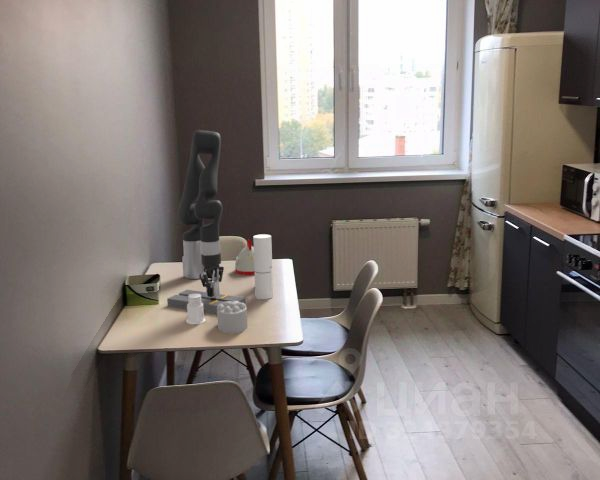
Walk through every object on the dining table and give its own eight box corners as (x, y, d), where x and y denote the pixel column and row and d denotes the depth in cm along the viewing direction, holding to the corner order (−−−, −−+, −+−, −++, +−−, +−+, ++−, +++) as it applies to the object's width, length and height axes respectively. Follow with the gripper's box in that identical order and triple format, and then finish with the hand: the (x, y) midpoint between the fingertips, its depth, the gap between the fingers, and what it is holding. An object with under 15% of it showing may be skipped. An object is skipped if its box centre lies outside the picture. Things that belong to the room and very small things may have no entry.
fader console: (167, 305, 268) (167, 297, 267) (187, 296, 279) (187, 288, 278) (227, 315, 255) (227, 306, 255) (246, 305, 267) (245, 296, 266)
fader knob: (206, 304, 265) (205, 282, 263) (211, 302, 268) (210, 280, 266) (215, 305, 263) (214, 283, 261) (219, 303, 266) (218, 281, 264)
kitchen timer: (237, 276, 308) (236, 243, 305) (233, 268, 321) (231, 237, 318) (267, 273, 311) (266, 241, 308) (262, 266, 324) (261, 235, 321)
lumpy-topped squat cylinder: (246, 320, 249) (245, 297, 247) (248, 332, 237) (247, 308, 235) (217, 322, 248) (216, 299, 246) (218, 334, 235) (217, 310, 233)
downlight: (183, 319, 252) (182, 293, 249) (202, 316, 254) (201, 290, 252) (189, 326, 245) (187, 300, 242) (208, 323, 247) (207, 297, 245)
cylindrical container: (276, 295, 279) (274, 235, 273) (268, 300, 272) (266, 238, 267) (260, 293, 282) (258, 233, 276) (252, 298, 275) (250, 237, 270)
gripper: (213, 247, 269) (215, 289, 272) (191, 255, 257) (194, 299, 260) (229, 248, 265) (231, 291, 269) (208, 257, 253) (210, 301, 257)
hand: (212, 295), depth 265 cm, fingers closed on fader knob, 3 cm apart
